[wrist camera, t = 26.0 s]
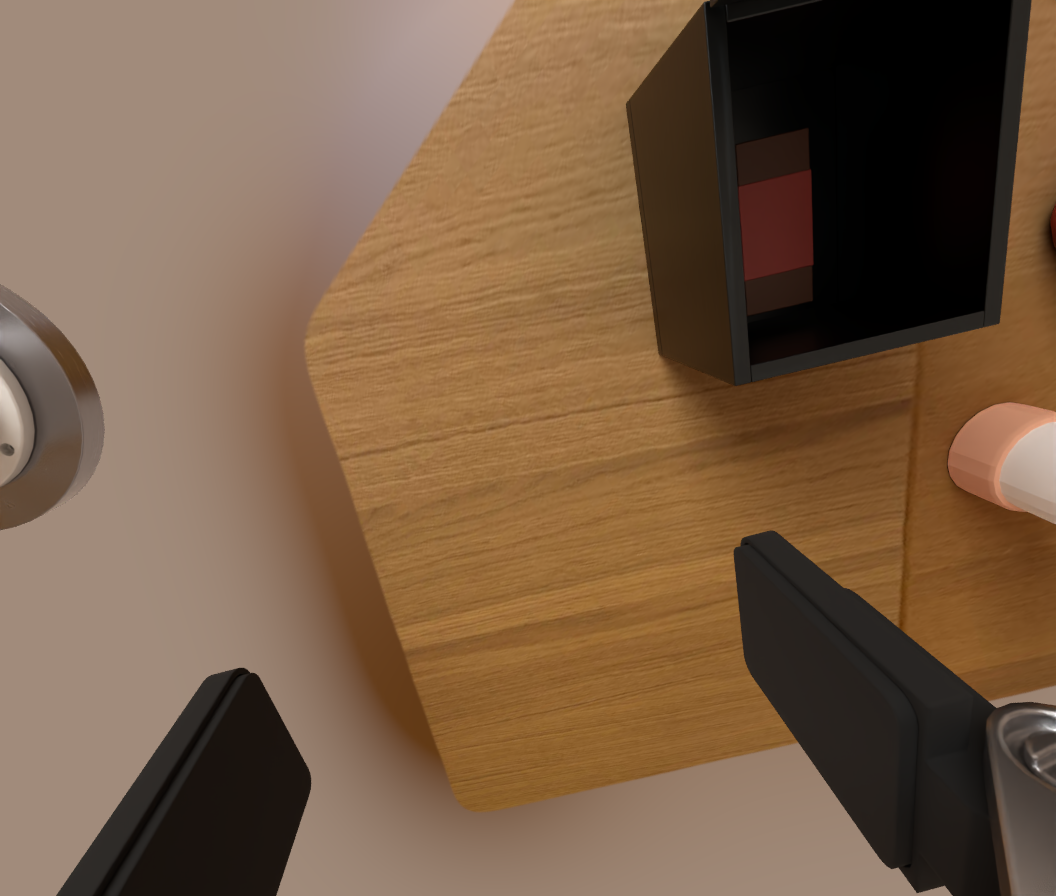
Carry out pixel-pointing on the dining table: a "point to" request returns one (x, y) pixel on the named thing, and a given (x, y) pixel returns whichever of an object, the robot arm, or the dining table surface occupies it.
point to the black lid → (721, 2)
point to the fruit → (1053, 225)
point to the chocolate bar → (776, 220)
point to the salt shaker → (1009, 458)
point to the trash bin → (833, 173)
